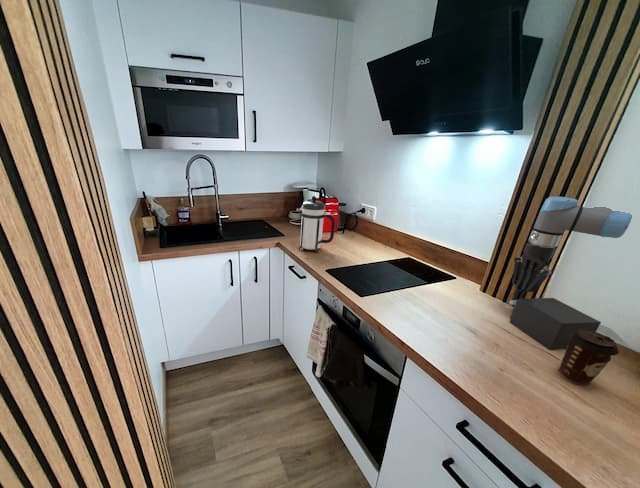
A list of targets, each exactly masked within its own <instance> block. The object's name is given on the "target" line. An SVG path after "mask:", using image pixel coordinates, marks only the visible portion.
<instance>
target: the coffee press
mask: <svg viewBox="0 0 640 488" xmlns="http://www.w3.org/2000/svg"><path fill="white" fill-rule="evenodd" d="M325 210H326V206H325V203H324V202H322V201H319V200H317V196H312V197H311V199H310V200H306V201H304V202H303V203H302V204H301V207H300V208H299V211H301V224H300V225H301V227H300V240H299V241H300V242H299V243H300V244H299V247H298V251H300V252H301V251H303V250H310V251H312V250H313V251H314V253H315V254H318V253H319V249H322V247H323V246H322V244H329V243H331V242H332V241H333V239H334V236H335V228H336V220H335V218H334V216H333V215H331V214H325ZM324 218H326V219H329V220H330V221H331V227H330V236H329V238H328V239H323V230H324Z"/></svg>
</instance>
